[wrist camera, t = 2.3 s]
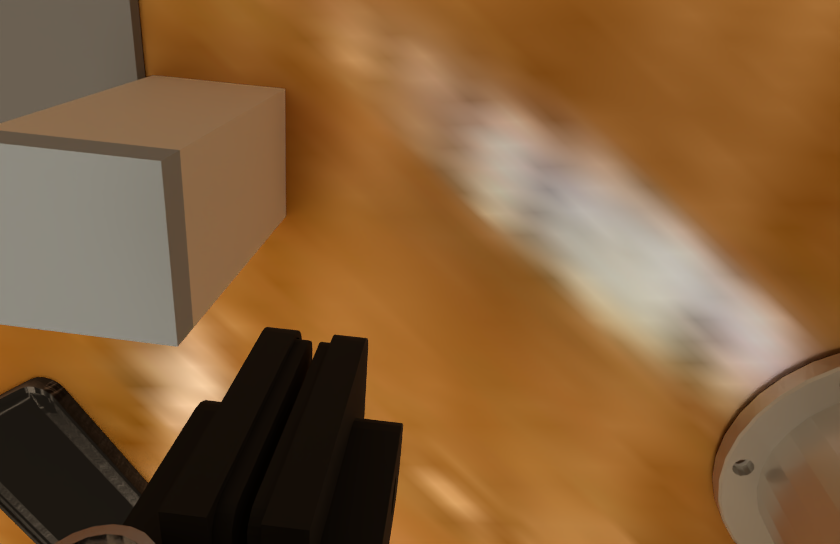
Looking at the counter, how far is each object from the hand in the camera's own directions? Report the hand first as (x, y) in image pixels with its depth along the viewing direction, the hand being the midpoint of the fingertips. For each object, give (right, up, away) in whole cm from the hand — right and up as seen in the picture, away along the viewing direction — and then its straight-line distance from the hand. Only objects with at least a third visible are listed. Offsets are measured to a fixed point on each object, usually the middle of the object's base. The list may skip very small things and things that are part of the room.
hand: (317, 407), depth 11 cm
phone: (-15, -10, +24) cm, 30 cm away
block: (-6, +7, +14) cm, 17 cm away
